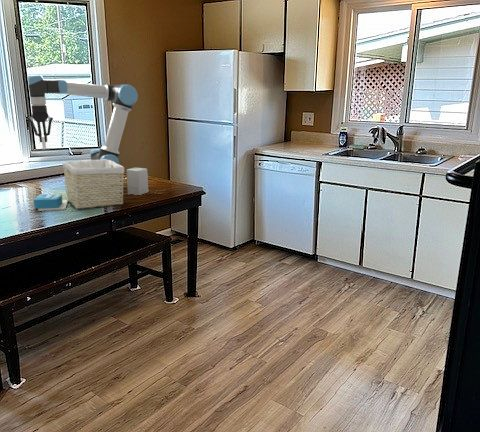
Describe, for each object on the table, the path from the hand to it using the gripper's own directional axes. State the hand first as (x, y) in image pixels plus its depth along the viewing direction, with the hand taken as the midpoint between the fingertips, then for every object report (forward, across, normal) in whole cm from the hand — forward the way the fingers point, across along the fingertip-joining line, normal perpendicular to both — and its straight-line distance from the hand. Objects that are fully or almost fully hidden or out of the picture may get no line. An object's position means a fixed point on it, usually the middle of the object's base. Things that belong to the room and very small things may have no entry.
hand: (44, 148), depth 249 cm
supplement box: (+29, +49, -9) cm, 57 cm away
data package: (+24, -5, -25) cm, 35 cm away
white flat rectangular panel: (+27, +3, -25) cm, 37 cm away
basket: (+28, +24, -24) cm, 44 cm away
